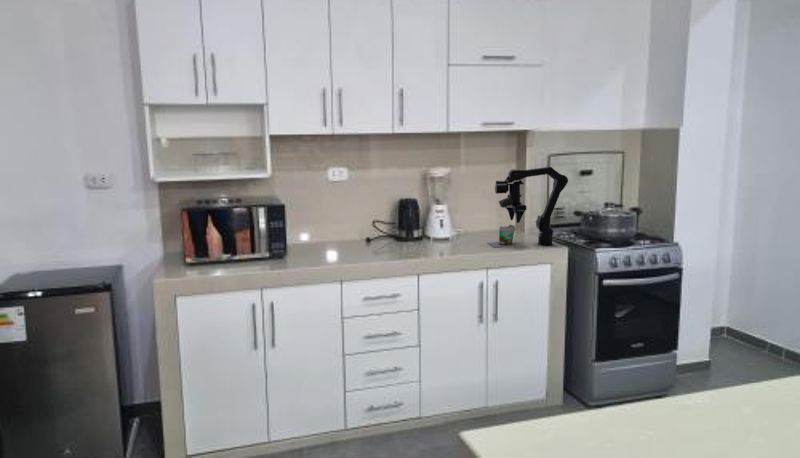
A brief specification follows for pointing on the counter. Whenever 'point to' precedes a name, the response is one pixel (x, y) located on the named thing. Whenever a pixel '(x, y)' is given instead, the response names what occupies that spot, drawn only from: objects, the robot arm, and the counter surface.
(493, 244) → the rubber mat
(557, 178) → the robot arm
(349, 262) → the counter surface
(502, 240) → the food container
